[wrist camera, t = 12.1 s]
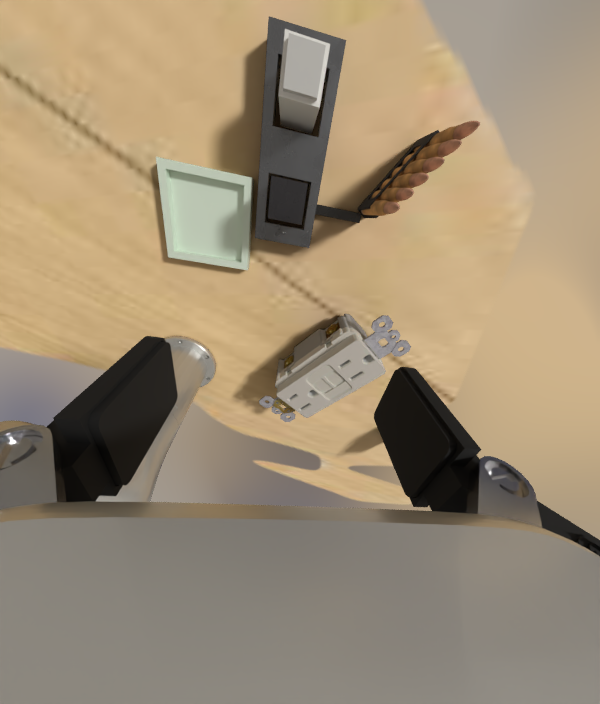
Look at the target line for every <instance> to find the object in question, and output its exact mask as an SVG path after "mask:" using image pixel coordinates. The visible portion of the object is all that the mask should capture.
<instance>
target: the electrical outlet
mask: <svg viewBox="0 0 600 704" xmlns="http://www.w3.org/2000/svg"><path fill="white" fill-rule="evenodd" d="M380 322H385V325H384V326H383V327H379V323H380ZM392 324H393V322H392V320H391V319H390V317H389V316H384V315H382V316H380V317H379V318H378V319H376V320H375V321H373V323H372V329H373V330H374V331H375V332H374V333H373V334H371V335H370V336H368V337H367V335H366V333H365V332H364V330H363V329H362V328H361V326H360V325H359V324H358V323H357V322H356V321H355V320H354V319H353V317H352V316H350V315H348V314H344V316H341V317H338V320H337V321H336V322H334V323H333V324H331V325H330V326H329V327H327V328H326V329H325V330H322V329H318V330H317V331H316V332H314V333H313V334H312V335H310V336H309V337H308V338H306V339H305V340H304V341H302V342H301V343H300V344H298V345H297V346H296V347H294V353H292V354H291V355H290V356H288V357H287V358H286V359H284V360H281V359H279V363H278V369H277V377H276V384H275V387H276V388H277V394H276V395H277V398H275V399H273V398H272V397H271V396H264V397H263V398H261V399H260V400H259V402H260V405H262V406H263V407H266V408H270V407H271V406H273V407H272V412H273V413H275V414H280V413H282V414H281V419H282V420H283V421H285V422H290V421H292V420H293V419H295V414H294V413H292V412H294V411H295V410H296V411H297V412H299V413H300V414H301V415H303V416H304V417H306V418H308V417H310V416H312V415H314V414H315V413H317V412H319V411H321V410H322V409H324V408H326V407H328V406H329V405H331V404H333V403H334V402H336V401H338V400H340V399H341V398H343V397H345V396H347V395H348V394H350V393H352V392H354V391H355V390H357V389H359V388H361V387H362V386H364V385H366V384H368V383H369V382H371V381H373V380H375V379H376V378H378V377H380V376H381V375H383V374H385V372H386V371H385V368H384V366H383V363H382V360H381V358H382V357H384V356H386V355H387V354H389V353H391V352H392V354H393V355H394V356H402V355H404V354H405V353H407V352H409V350H410V348H411V346H410V345H409V343H408V342H407V341H406V340H400V341H399V342H397V343H396V341H397V340H399V337H400V333H399V332H398V331H397V330H391V331H389V332H387V330H389V329H390V328H392ZM393 335H395V337H394V338H391V337H392V336H393ZM383 338H385V339H386V340H387V341H388V344H387V345H385V346H382V347H381V346H380V344H379V343H378V341H379V340H381V339H383ZM399 347H404V349H403V350H402V351H398V348H399ZM265 400H268V401H269V403H265ZM282 403H283V405H284V406H286V407H287V408H284V409H283V408H282V407H280V406H279V405H280V404H282ZM275 410H278V411H275ZM286 416H290V418H287V417H286Z"/></svg>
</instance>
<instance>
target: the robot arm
mask: <svg viewBox="0 0 600 704" xmlns="http://www.w3.org/2000/svg"><path fill="white" fill-rule="evenodd" d="M215 371H216V363H215V359H214V357H213V355H212V354H211V353H210V351H209V350H208V349H207V348H206V347H205V346H204V345H202V344H201V343H199V342H197V341H195V340H193V339H190V338H187V337H181V336H172V337H167V338H159V337H151V336H146V337H144V338H143V339H142V340H141V341H140V342H139V343H137V344H136V345H135V346H134V347H133V348H132V349H131V350H130V351H128V352H127V353H126V354H125V355H124V356H123V357H122V358H121V359H119V360H118V361H117V362H116V363H115V364H114V365H113V366H111V367H110V368H109V369H108V370H107V371H106V372H105V373H104V374H103V375H101V376H100V377H99V378H98V379H97V380H96V381H95V382H94V383H92V384H91V385H90V386H89V387H88V388H87V389H86V390H85V391H83V392H82V393H81V394H80V395H79V396H78V397H76V398H75V399H74V400H73V401H72V402H71V403H70V404H69V405H67V406H66V407H65V408H64V409H63V410H62V411H61V412H60V413H58V414H57V415H56V416H55V417H54V421H53V422H52V423H51V424H49V425H48V426H47V427H45V426H41V425H34V424H31V423H27V422H21V421H3V422H0V704H600V540H599V539H597V538H595V537H593V536H592V535H591V534H589V533H587V532H586V531H584V530H583V529H581V528H579V527H578V526H576V525H575V524H573V523H571V522H570V521H568V520H567V519H565V518H564V517H562V516H560V515H559V514H557V513H556V512H554V511H552V510H551V509H549V508H548V507H546V506H544V505H543V504H541V503H540V502H538V501H537V499H536V494H535V492H534V489H533V487H532V486H531V484H530V483H529V481H528V480H527V479H526V478H525V477H524V476H523V475H522V474H521V473H520V472H519V471H518V470H516V469H515V468H514V467H512V466H511V465H509V464H508V463H506V462H504V461H502V460H500V459H498V458H495V457H491V456H484V457H483V458H481V459H479V458H478V457H477V454H478V452H479V451H480V450H481V449H480V448H479V447H478V445H477V444H476V443H475V441H474V440H473V439H472V438H471V436H470V435H469V434H468V433H467V432H466V430H465V429H464V428H463V426H462V425H461V424H460V423H459V422H458V420H457V419H456V418H455V417H454V415H453V414H452V413H451V412H450V410H449V409H448V408H447V407H446V405H445V404H444V403H443V402H442V401H441V399H440V398H439V397H438V396H437V394H436V393H435V392H434V391H433V389H432V388H431V387H430V386H429V384H428V383H427V382H426V381H425V380H424V378H423V377H422V376H421V375H420V373H419V372H418V371H417V370H416V369H414V368H408V367H400V368H399V369H398V370H395V372H394V374H393V376H392V378H391V380H390V382H389V384H388V386H387V388H386V390H385V392H384V394H383V396H382V398H381V400H380V402H379V405H378V407H377V409H376V411H375V413H374V420H375V422H376V425H377V427H378V430H379V432H380V434H381V437H382V439H383V442H384V444H385V446H386V449H387V451H388V454H389V456H390V459H391V461H392V463H393V466H394V468H395V471H396V473H397V475H398V478H399V480H400V483H401V485H402V488H403V490H404V492H405V494H406V495H407V496H408V497H410V500H411V502H412V504H413V506H414V507H428V505H429V506H430V508H431V510H432V511H414V510H413V511H412V510H388V509H362V508H361V509H360V508H333V507H303V506H274V505H242V504H206V503H203V504H202V503H169V502H167V503H166V502H150V501H151V497H152V494H153V490H154V487H155V484H156V481H157V477H158V474H159V471H160V469H161V466H162V463H163V461H164V459H165V456H166V454H167V452H168V450H169V448H170V445H171V443H172V441H173V439H174V437H175V435H176V433H177V431H178V429H179V427H180V425H181V423H182V421H183V419H184V417H185V415H186V413H187V411H188V409H189V407H190V405H191V403H192V402H193V399H194V397H195V395H196V393H197V391H198V389H199V387H202V386H204V385H206V384H208V383H209V382H210V381H211V380H212V378H213V376H214V374H215Z"/></svg>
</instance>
